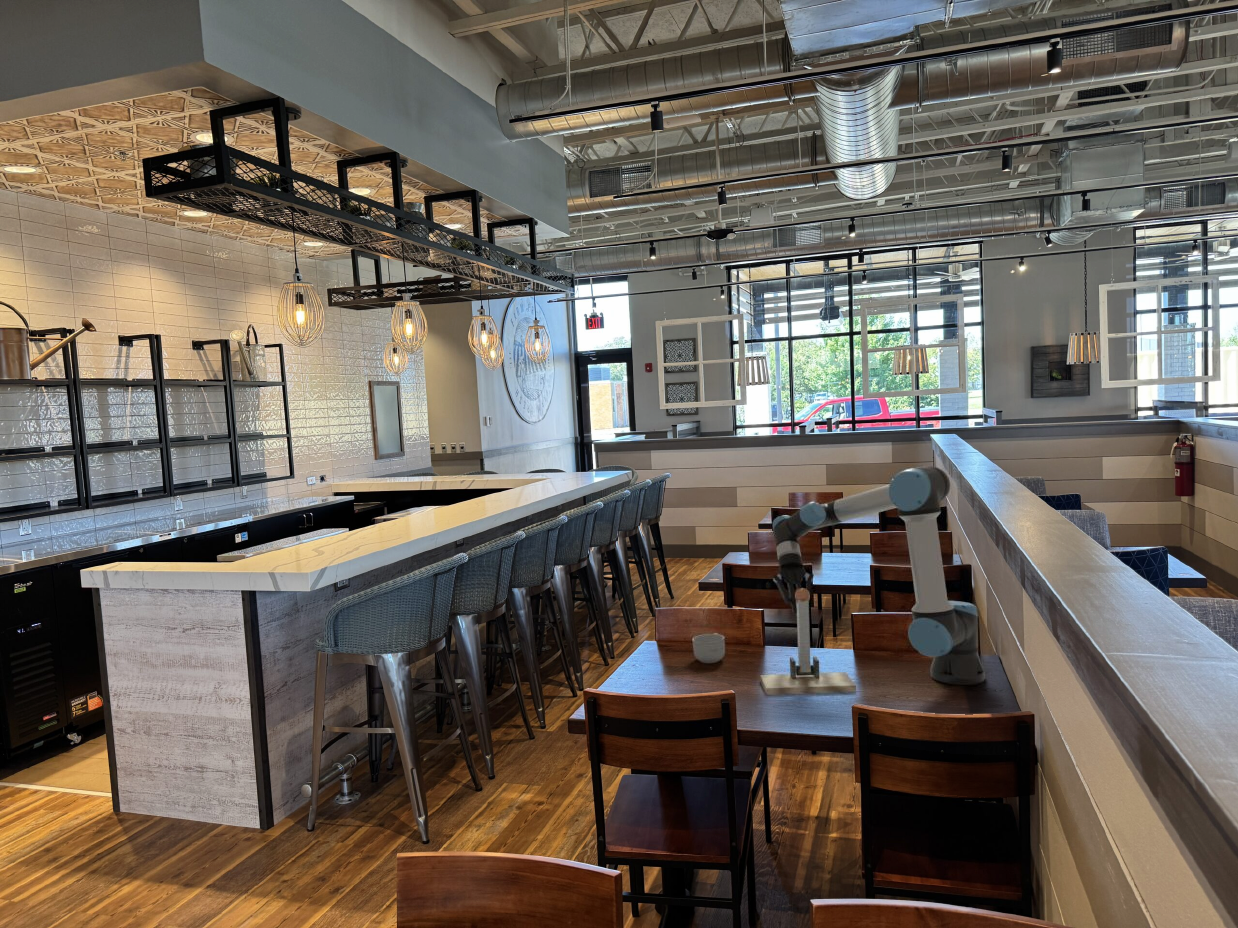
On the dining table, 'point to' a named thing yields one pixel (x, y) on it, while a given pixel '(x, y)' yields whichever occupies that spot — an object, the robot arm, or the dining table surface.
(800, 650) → the press lever
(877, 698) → the dining table surface
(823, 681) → the board
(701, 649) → the teacup
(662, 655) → the dining table surface
